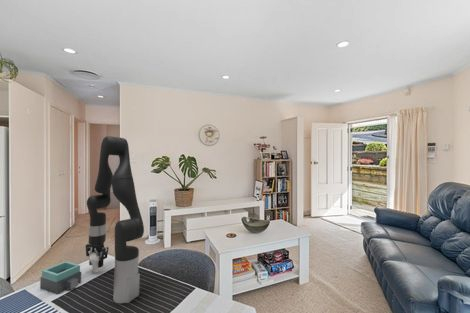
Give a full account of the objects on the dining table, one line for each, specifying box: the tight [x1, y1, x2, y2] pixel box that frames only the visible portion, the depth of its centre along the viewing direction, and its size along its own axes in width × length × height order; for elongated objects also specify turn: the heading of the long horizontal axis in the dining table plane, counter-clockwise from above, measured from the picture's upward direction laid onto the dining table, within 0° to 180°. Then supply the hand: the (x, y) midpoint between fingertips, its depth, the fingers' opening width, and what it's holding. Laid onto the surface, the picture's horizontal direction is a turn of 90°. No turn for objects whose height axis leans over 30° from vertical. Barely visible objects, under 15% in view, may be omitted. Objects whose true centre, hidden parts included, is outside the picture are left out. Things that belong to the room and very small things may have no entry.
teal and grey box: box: [39, 261, 82, 295], centre depth 99 cm, size 15×10×8 cm, turn 70°
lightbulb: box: [88, 253, 102, 274], centre depth 111 cm, size 6×6×11 cm
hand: (96, 265), depth 111 cm, fingers closed on lightbulb, 5 cm apart
